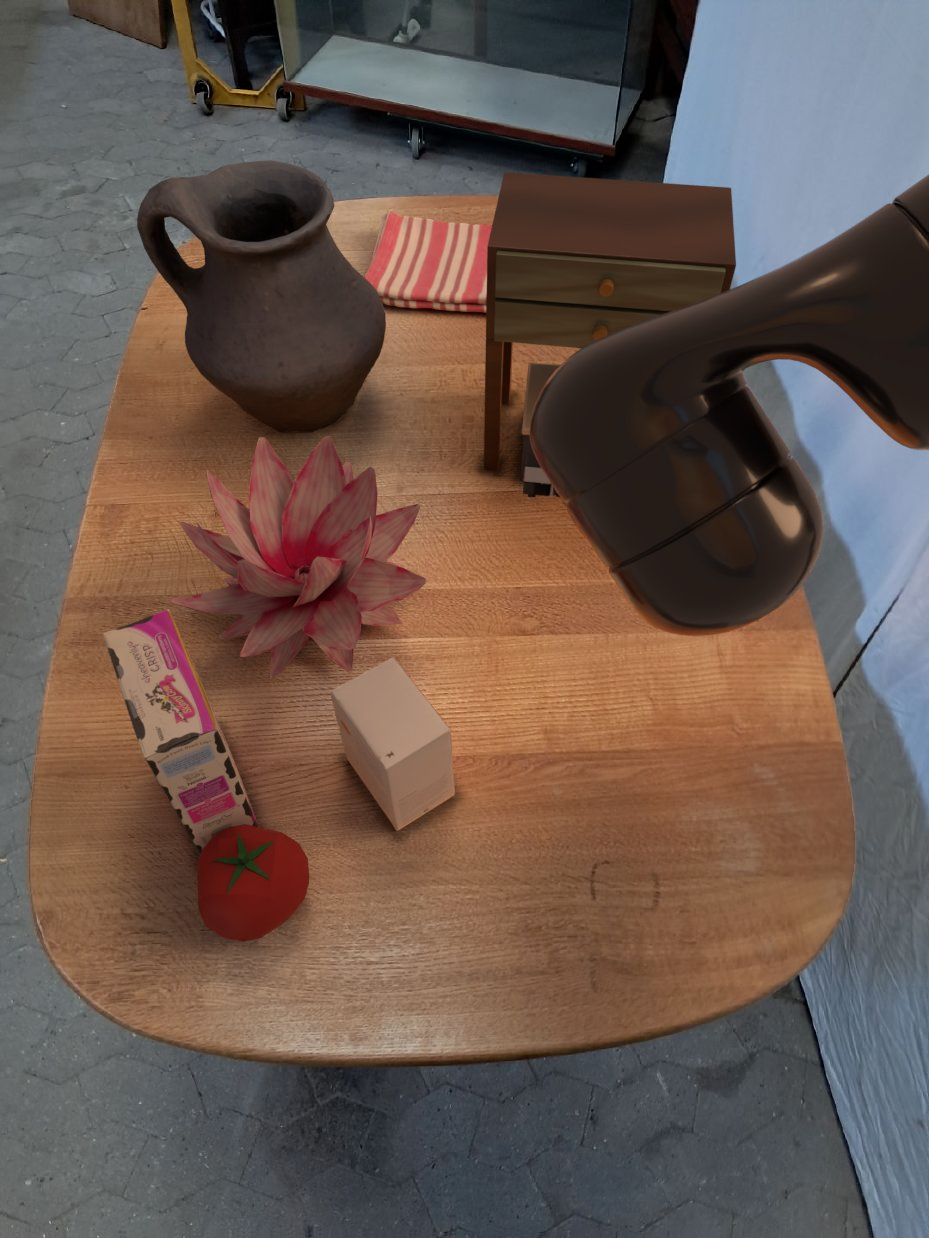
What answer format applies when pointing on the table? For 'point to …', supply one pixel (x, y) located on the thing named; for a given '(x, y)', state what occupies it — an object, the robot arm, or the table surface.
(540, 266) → the drawer unit
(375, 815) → the table surface
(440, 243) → the dish towel
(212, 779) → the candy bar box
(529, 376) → the storage box
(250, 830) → the tomato
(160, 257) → the pitcher
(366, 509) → the decorative flower
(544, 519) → the table surface
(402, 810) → the small box
